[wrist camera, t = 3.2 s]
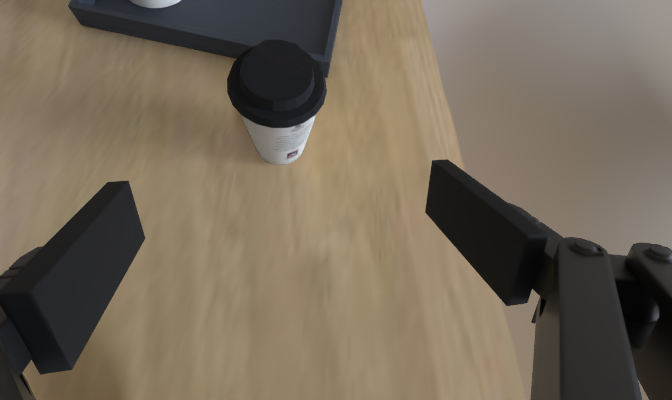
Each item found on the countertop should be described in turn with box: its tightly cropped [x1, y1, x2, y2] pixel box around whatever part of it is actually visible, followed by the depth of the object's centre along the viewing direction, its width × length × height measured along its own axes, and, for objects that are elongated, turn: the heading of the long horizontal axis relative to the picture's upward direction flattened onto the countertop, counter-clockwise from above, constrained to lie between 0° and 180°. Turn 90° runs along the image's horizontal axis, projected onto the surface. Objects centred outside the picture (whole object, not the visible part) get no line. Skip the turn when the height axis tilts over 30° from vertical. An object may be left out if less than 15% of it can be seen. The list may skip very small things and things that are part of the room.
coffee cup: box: [227, 40, 327, 165], centre depth 28 cm, size 7×7×10 cm
